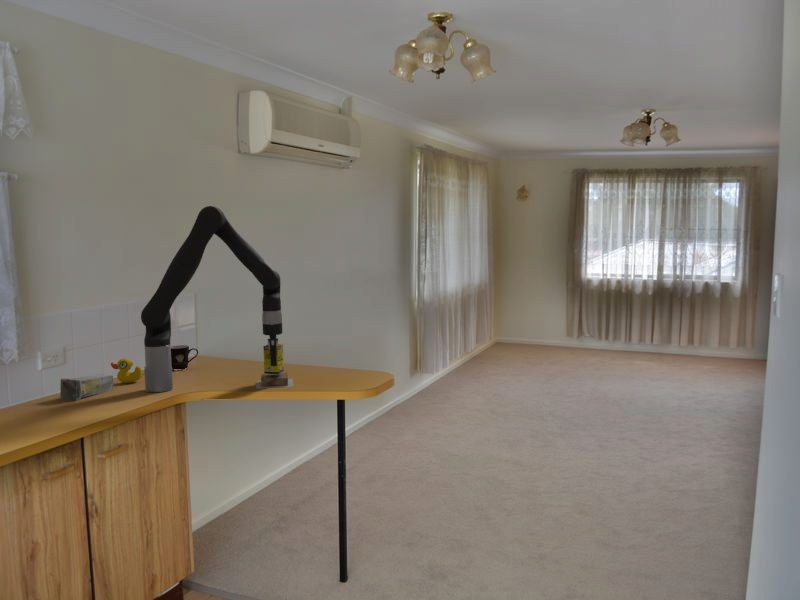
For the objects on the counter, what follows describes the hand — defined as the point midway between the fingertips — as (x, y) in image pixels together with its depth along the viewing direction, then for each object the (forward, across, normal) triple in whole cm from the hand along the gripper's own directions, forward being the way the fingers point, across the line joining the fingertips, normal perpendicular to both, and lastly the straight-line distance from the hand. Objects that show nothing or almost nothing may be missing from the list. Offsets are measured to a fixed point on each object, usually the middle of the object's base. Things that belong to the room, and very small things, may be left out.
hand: (273, 363), depth 247 cm
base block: (+8, 0, 0) cm, 8 cm away
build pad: (+8, 0, 0) cm, 8 cm away
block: (+9, -2, -68) cm, 68 cm away
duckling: (+8, -18, -58) cm, 61 cm away
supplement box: (+4, 0, 0) cm, 4 cm away
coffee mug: (+8, -41, -40) cm, 58 cm away
